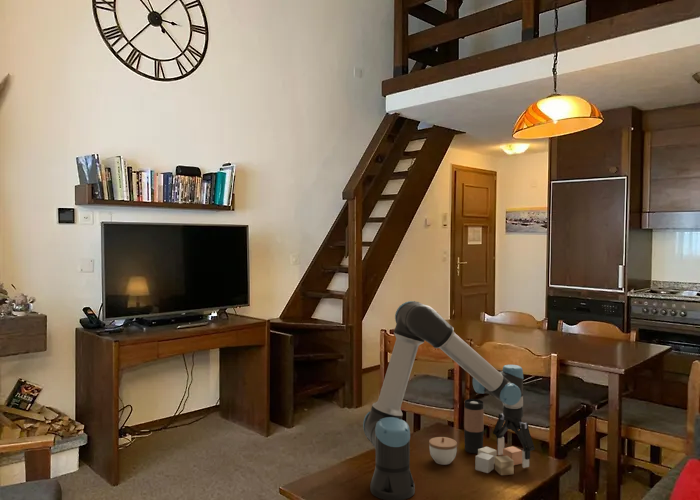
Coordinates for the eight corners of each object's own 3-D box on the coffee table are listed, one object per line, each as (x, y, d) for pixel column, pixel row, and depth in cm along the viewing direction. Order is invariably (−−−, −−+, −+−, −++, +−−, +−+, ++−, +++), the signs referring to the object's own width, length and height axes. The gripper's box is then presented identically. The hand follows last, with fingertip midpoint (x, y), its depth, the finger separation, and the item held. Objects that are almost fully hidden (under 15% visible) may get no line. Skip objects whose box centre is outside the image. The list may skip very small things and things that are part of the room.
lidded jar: (455, 456, 217) (455, 433, 217) (458, 467, 206) (458, 443, 206) (428, 455, 218) (428, 432, 218) (429, 466, 207) (429, 442, 207)
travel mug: (460, 448, 225) (460, 400, 225) (475, 445, 229) (475, 397, 228) (471, 455, 218) (472, 405, 218) (487, 451, 222) (487, 402, 221)
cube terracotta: (512, 465, 208) (512, 452, 208) (503, 461, 213) (503, 448, 213) (522, 463, 210) (522, 450, 210) (512, 458, 215) (513, 446, 215)
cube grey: (487, 473, 202) (487, 460, 201) (475, 469, 205) (475, 456, 205) (493, 469, 205) (493, 455, 205) (481, 465, 209) (481, 452, 209)
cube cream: (488, 466, 208) (488, 453, 208) (477, 462, 212) (477, 449, 212) (496, 463, 211) (496, 450, 211) (486, 458, 215) (486, 446, 215)
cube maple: (500, 475, 200) (501, 461, 200) (494, 469, 205) (494, 456, 205) (513, 474, 201) (513, 460, 201) (507, 468, 206) (507, 455, 206)
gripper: (544, 413, 202) (544, 470, 202) (498, 396, 224) (498, 447, 225) (529, 416, 198) (529, 474, 199) (484, 398, 221) (484, 450, 221)
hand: (513, 460), depth 212 cm, fingers open, 13 cm apart
